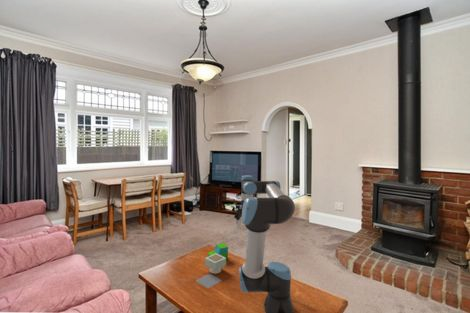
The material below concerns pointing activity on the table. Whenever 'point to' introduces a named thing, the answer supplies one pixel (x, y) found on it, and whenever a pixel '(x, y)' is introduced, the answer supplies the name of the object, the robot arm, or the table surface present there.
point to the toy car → (220, 250)
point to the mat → (208, 280)
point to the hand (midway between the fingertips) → (246, 231)
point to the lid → (215, 261)
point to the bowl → (215, 270)
